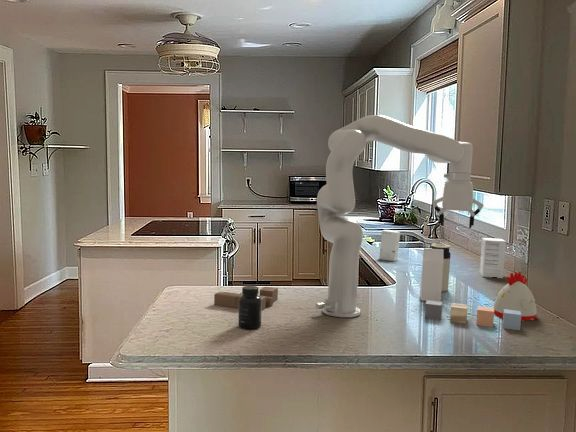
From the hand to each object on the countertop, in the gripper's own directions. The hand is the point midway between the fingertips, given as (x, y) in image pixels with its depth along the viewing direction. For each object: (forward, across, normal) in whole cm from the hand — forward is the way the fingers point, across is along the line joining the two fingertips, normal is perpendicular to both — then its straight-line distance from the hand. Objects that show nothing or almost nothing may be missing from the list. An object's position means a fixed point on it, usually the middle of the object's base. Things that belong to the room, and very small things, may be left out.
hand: (456, 226), depth 204 cm
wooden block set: (+29, -66, -30) cm, 78 cm away
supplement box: (+29, +14, +65) cm, 73 cm away
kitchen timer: (+29, +21, -2) cm, 36 cm away
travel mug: (+29, -6, +24) cm, 38 cm away
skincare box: (+29, -35, +82) cm, 93 cm away
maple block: (+29, +4, -18) cm, 34 cm away
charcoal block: (+29, -4, -18) cm, 34 cm away
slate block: (+29, +20, -18) cm, 39 cm away
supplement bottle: (+28, -55, -55) cm, 83 cm away
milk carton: (+29, -8, +6) cm, 30 cm away
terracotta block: (+29, +12, -18) cm, 36 cm away
